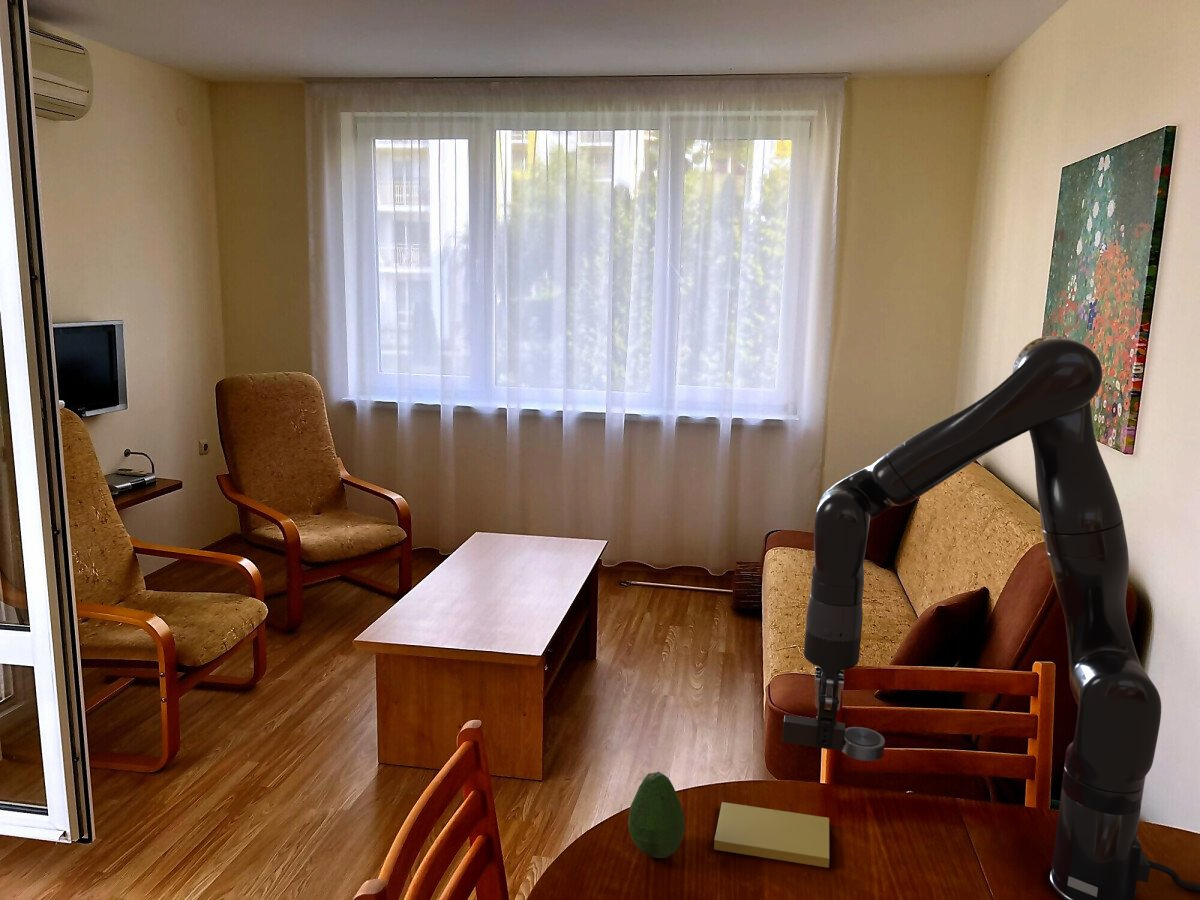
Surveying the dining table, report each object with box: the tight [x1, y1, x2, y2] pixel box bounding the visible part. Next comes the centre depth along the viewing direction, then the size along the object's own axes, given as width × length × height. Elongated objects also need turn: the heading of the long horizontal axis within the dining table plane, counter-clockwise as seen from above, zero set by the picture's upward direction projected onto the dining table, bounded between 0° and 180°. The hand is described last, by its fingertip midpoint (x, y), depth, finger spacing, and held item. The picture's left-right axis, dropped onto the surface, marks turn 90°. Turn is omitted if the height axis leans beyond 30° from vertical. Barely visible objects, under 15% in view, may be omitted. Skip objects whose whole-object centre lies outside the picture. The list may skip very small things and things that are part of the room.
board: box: [713, 801, 830, 869], centre depth 133 cm, size 16×10×2 cm, turn 76°
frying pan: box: [781, 714, 886, 762], centre depth 129 cm, size 14×6×3 cm, turn 76°
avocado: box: [627, 771, 686, 859], centre depth 128 cm, size 8×8×12 cm
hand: (823, 741), depth 130 cm, fingers closed on frying pan, 2 cm apart
